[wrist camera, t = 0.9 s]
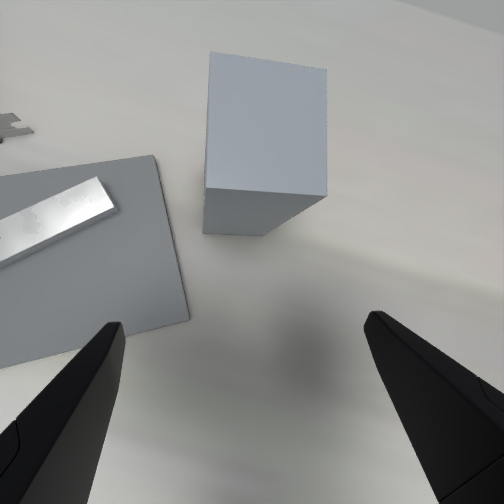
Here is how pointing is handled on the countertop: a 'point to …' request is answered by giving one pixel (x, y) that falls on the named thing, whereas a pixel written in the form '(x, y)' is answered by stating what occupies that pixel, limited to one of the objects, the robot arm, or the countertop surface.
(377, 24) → the countertop surface
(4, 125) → the graphics card
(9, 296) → the grey mounting plate
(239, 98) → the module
